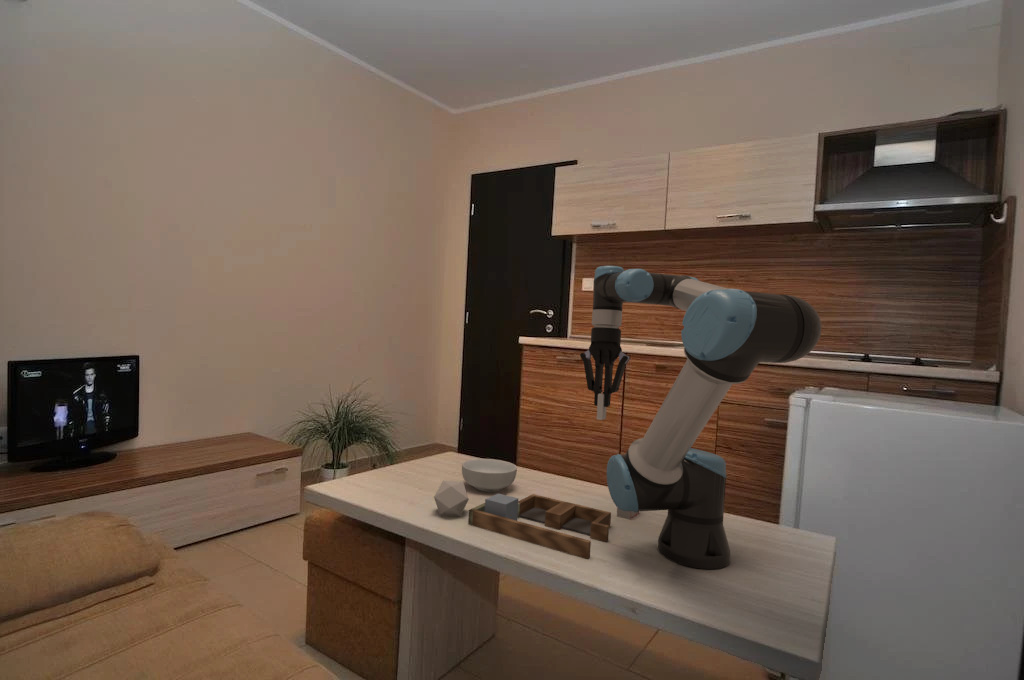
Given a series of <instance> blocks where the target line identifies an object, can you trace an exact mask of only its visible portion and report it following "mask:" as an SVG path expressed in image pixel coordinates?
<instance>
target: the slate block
mask: <svg viewBox="0 0 1024 680" xmlns="http://www.w3.org/2000/svg"><path fill="white" fill-rule="evenodd" d="M518 501H519V497H514V496H510V495H506V494H501V493H496V494H493V495H492V496H488V497H487V498H485V500H484V503H485V512H486V513H490V514H493V515H497V516H501V517H505V518H508V519H512V520H516V521H518V518H517V516H518Z"/></svg>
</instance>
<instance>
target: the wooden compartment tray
mask: <svg viewBox="0 0 1024 680" xmlns="http://www.w3.org/2000/svg"><path fill="white" fill-rule="evenodd" d="M518 518H522V519H524V520H529V521H532V522H537V523H541V524H544V526H545V527H546V528H545V527H541V526H537V525H534V524H530V523H526V522H523V521H518V520H517V521H516V520H512V519H508V518H505V517H501V516H497V515H493V514H490V513H486V512H485V502H483V503H482V504H479V505H477V506H475V507H472V508H470V509H469V510H468V519H467V520H468V521H467V525H469V526H472V525H473V527H476V528H480V529H483V530H486V531H490V532H493V533H497V534H500V535H504V536H507V537H509V538H510V537H511V538H514V539H518V540H521V541H524V542H527V543H531V544H535V545H538V546H542V547H545V548H547V549H548V548H549V549H551V550H554V551H555V550H556V551H559V552H562V553H566V554H569V555H572V556H576V557H579V558H583V559H587V560H588V559H590V558H591V545H592V540H589V539H587V538H582V537H578V536H575V535H571V534H567V533H565V532H564V533H563V532H560V531H555V530H561V529H563V530H565V531H566V530H567V531H571V532H573V533H577V534H582V535H585V536H589V538H590V539H593V540H597V541H600V542H605V543H608V541H609V537H610V536H609V534H610V528H611V522H612V512H610V511H607V510H602V509H597V508H594V507H589V506H585V505H581V504H578V503H577V504H576V503H574V502H573V503H572V502H567V501H564V500H560V499H555V498H551V497H547V496H542V495H538V494H534V493H532V494H530V495H528V496H527V497H526V496H525V498H522V499H520V500H518V516H517V519H518ZM547 527H548V528H551V529H548V528H547ZM553 529H555V530H553Z"/></svg>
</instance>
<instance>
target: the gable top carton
mask: <svg viewBox="0 0 1024 680" xmlns="http://www.w3.org/2000/svg"><path fill="white" fill-rule="evenodd" d="M616 507H617V506H616ZM639 514H640V511H639V512H633V511H622V510H621V509H619V508H618V507H617V508H616V517H618V518H621V519H626V520H632V519H633V518H635V517H637V515H639Z"/></svg>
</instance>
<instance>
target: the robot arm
mask: <svg viewBox="0 0 1024 680" xmlns="http://www.w3.org/2000/svg"><path fill="white" fill-rule="evenodd" d="M592 300H593V301H592V316H591V325H592V326H593V327H592V328H591V333H590V334H591V335H590V345H589V346H588V350H585V352H581V353H580V354H579V355H580V358H581V360H582V362H583V367H584V374H585V380H586V385H587V390H589V391H592V392H593V393H594V401H593V405H594V407H595V406H596V420H598V421H599V420H600V421H604V420H606V419H607V408H608V407H610V406H611V396H612V394H613V393H618V392H619V389H620V385H621V382H622V379H623V376H624V373H625V369H626V366H627V364H628V363H629V362H630V360H631V356H630V355H626V353H624V352H623V349H622V347H621V343H622V342H621V341H622V330H621V327H622V321H623V320H622V319H623V307H624V306H623V305H624V304H625V303H633V304H634V303H636V304H646V305H655V306H656V305H659V306H669V307H673V308H675V309H678V310H681V311H685V313H684V316H683V318H682V326H683V328H682V329H681V331H680V332H681V333H680V334H681V335H680V336H681V341H682V342H681V343H682V344H683V352H684V356H685V358H686V361H685V363H684V364H683V366H682V368H681V370H680V372H679V373H678V375H677V377H676V379H675V381H674V382H673V385H672V386H671V388H670V389H669V391H668V393H667V395H666V397H665V398H664V400H663V402H662V404H661V405H660V408H658V409H659V410H658V411H657V412H656V415H655V416H654V418H653V419H652V422H651V424H650V425H649V427H648V429H647V430H646V432H645V434H644V435H643V437H641V438H638V439H635V440H634V441H632V442H631V443H630V445H629V447H628V449H627V450H626V452H625V453H624V454H620V453H617V454H614V455H611V456H610V457H609V459H608V461H607V463H606V464H607V465H606V483H607V488H608V492H609V495H610V497H611V499H612V502H613V503H614V505H615V506H616V507H618V508H619V509H621V510H622V511H633V512H639V513H640V512H651V511H652V512H654V511H656V512H657V511H667V516H666V519H665V521H664V524H663V526H662V529H661V530H660V533H659V535H658V539H657V551H658V552H659V554H661V556H663V557H664V558H666V559H668V560H669V561H672V562H674V563H677V564H679V565H682V566H686V567H690V568H695V569H705V570H716V569H721V568H725V567H727V566H728V565H729V564H730V562H731V549H730V544H729V542H728V538H727V534H726V530H725V527H724V514H725V499H726V498H725V496H726V495H725V494H726V483H727V478H728V477H727V463H726V460H725V458H723V457H722V456H720V455H718V454H715V453H713V452H708V451H706V450H701V449H697V448H692V446H693V445H694V443H695V442H696V441H697V438H699V436H700V434H702V433H701V432H702V431H703V430H704V428H705V427H706V425H707V424H708V422H709V421H710V419H711V418H712V416H713V414H714V413H715V411H716V410H717V409H718V407H719V405H720V404H721V403H722V400H723V399H724V398H725V396H726V395H727V394H728V392H729V391H730V389H731V387H732V386H733V385H738V384H739V385H740V384H743V383H744V382H746V381H747V380H748V379H749V378H750V376H751V374H752V373H753V371H754V370H755V369H756V368H757V366H758V364H760V363H767V364H768V363H769V364H772V363H773V364H786V363H790V362H795V361H798V360H800V359H803V358H804V357H806V356H807V355H808V354H810V353H811V352H812V351H813V349H815V347H816V346H817V344H818V343H819V340H820V338H821V334H822V321H821V318H820V315H819V313H818V311H817V310H816V309H815V307H814V306H812V305H811V304H810V303H809V302H807V301H806V300H804V299H802V298H800V297H797V296H794V295H790V294H780V293H779V294H778V293H767V292H757V291H745V290H742V289H738V288H729V287H725V286H720V285H716V284H713V283H708V282H706V281H702V280H699V279H698V278H696V277H694V276H688V275H678V274H677V275H676V274H668V273H667V274H664V273H657V272H650V271H647V270H645V269H643V268H629V269H624V268H623V267H622V266H617V265H601V266H598V267H596V269H595V270H594V279H593V299H592ZM619 327H620V328H619ZM592 358H593V360H594V367H595V369H594V370H593V364H592V360H591V359H592ZM616 360H618V361H619V362H618V364H617V367H616V370H615V374H614V378H613V370H614V365H615V361H616ZM603 379H604V382H603Z"/></svg>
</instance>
